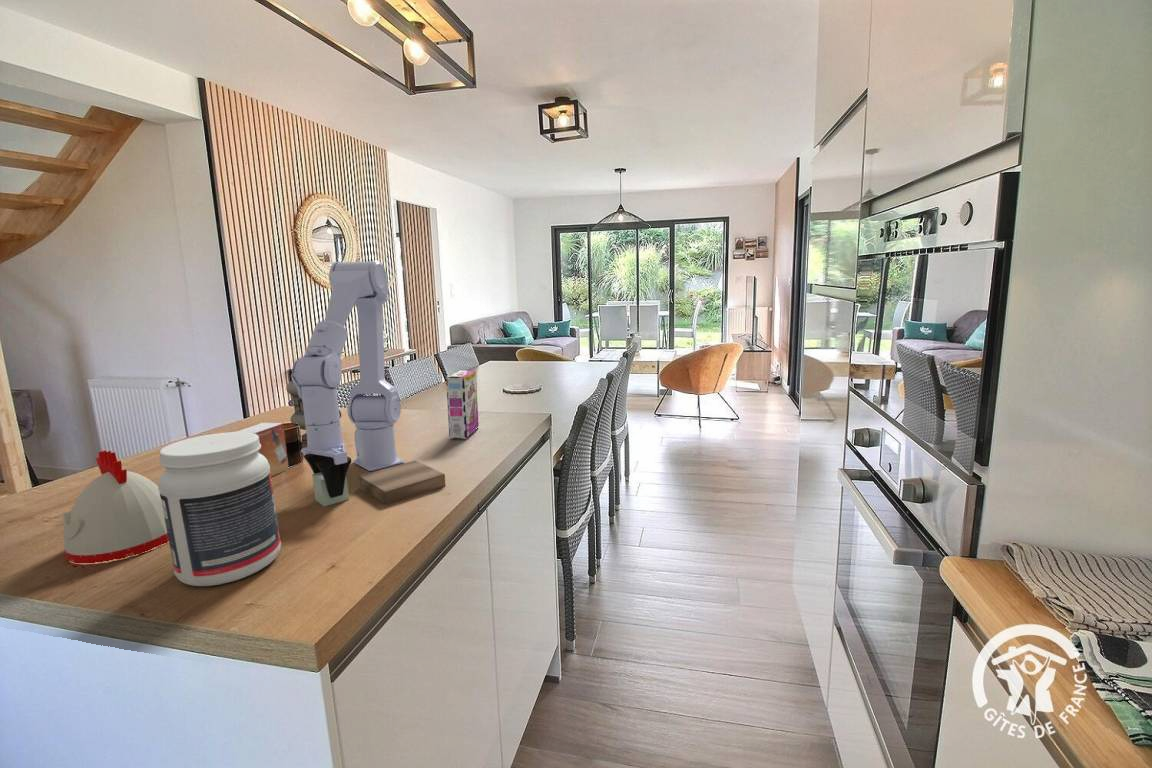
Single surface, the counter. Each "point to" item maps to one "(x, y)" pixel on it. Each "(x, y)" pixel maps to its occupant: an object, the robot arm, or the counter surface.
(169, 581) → the counter surface
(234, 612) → the counter surface
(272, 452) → the small box
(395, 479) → the walnut slab
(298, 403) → the ornate stone vase
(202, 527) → the supplement tub
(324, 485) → the sage block
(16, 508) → the counter surface
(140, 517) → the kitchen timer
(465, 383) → the candy bar box
